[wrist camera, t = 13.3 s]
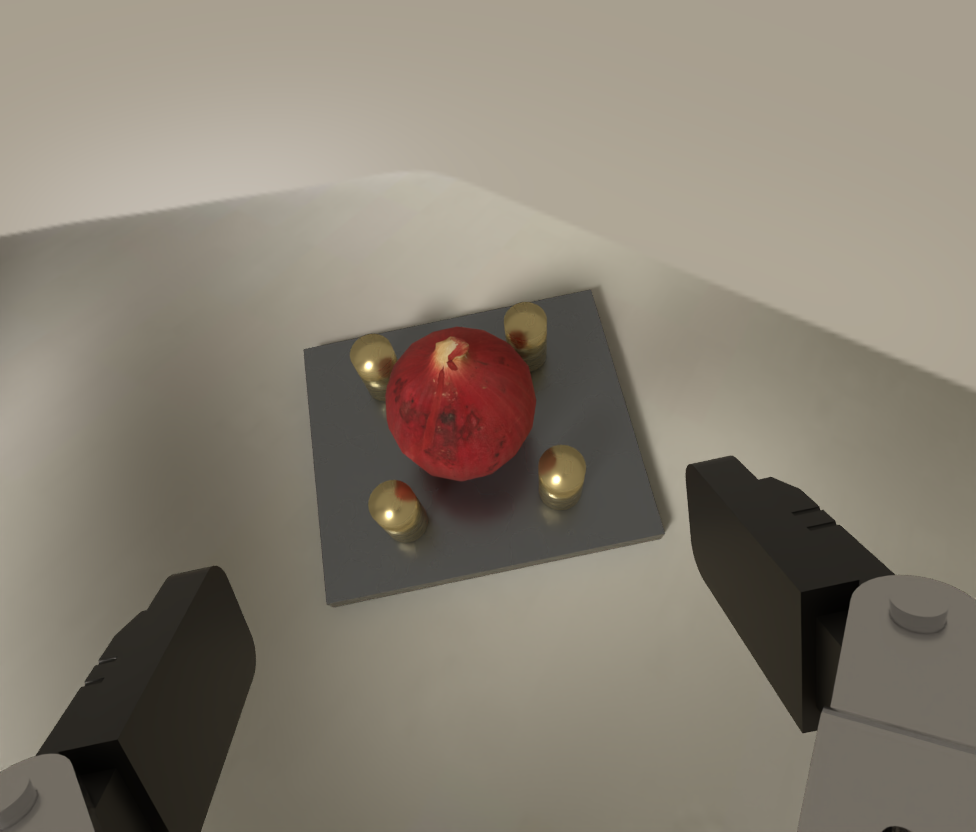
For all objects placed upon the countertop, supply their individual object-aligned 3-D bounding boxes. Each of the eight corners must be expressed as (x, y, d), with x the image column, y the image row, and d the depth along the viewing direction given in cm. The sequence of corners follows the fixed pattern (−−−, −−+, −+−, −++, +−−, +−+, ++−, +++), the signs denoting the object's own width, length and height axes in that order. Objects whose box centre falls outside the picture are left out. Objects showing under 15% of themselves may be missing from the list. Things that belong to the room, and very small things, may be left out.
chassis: (334, 607, 27) (301, 594, 24) (310, 358, 32) (280, 316, 28) (660, 538, 27) (678, 515, 24) (589, 301, 32) (595, 251, 28)
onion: (523, 513, 27) (515, 447, 20) (391, 489, 28) (337, 417, 21) (546, 388, 29) (547, 287, 22) (423, 369, 30) (384, 266, 23)
